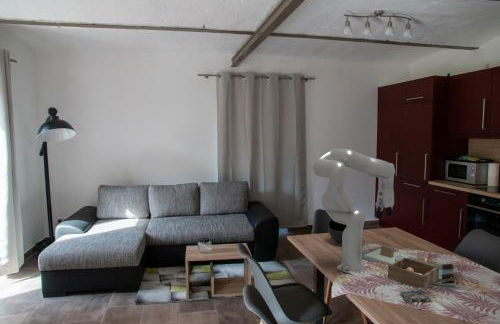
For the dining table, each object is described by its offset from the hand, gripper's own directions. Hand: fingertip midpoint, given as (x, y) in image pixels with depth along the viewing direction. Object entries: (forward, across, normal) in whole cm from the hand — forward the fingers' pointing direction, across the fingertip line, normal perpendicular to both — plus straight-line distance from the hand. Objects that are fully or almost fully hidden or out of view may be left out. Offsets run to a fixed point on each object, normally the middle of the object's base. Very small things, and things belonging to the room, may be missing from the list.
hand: (384, 216), depth 180 cm
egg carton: (+24, -33, -33) cm, 53 cm away
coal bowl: (+23, +5, +28) cm, 37 cm away
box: (+23, -16, -24) cm, 37 cm away
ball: (+22, -12, -21) cm, 33 cm away
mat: (+23, +2, -2) cm, 23 cm away
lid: (+22, +2, -2) cm, 23 cm away
